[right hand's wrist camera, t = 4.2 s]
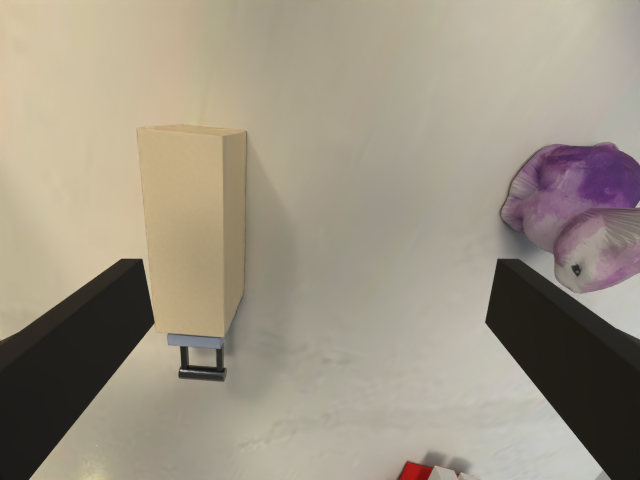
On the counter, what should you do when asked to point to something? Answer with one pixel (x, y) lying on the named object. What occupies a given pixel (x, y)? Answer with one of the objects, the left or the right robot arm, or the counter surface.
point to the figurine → (580, 212)
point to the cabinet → (194, 225)
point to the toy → (432, 473)
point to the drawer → (202, 342)
